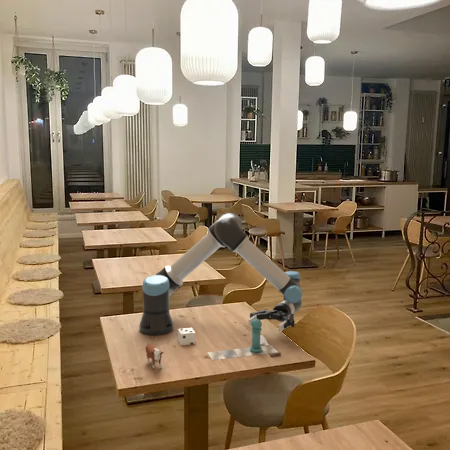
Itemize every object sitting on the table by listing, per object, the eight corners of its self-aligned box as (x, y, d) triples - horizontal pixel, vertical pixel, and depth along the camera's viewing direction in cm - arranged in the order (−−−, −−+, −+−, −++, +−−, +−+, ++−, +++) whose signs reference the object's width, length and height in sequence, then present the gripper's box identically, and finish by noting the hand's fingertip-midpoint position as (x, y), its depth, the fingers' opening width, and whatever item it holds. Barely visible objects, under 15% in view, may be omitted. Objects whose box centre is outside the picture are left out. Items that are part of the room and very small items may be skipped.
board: (211, 364, 186) (211, 361, 186) (204, 354, 195) (204, 351, 194) (280, 355, 194) (280, 352, 194) (271, 346, 203) (271, 344, 203)
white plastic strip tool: (259, 351, 199) (259, 349, 199) (251, 338, 214) (251, 335, 214) (272, 350, 200) (271, 348, 200) (263, 337, 215) (263, 334, 214)
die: (180, 348, 201) (180, 333, 200) (177, 342, 206) (177, 328, 206) (195, 346, 202) (195, 332, 202) (191, 341, 208) (191, 327, 207)
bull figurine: (153, 375, 177) (153, 353, 176) (144, 360, 189) (144, 340, 188) (165, 372, 179) (165, 351, 177) (155, 358, 191) (155, 338, 189)
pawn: (252, 353, 193) (253, 321, 191) (248, 348, 198) (249, 317, 196) (263, 352, 195) (264, 320, 193) (259, 347, 199) (259, 316, 197)
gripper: (310, 323, 215) (292, 340, 196) (257, 314, 226) (236, 329, 208) (310, 307, 213) (293, 322, 195) (258, 298, 225) (237, 312, 207)
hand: (264, 325), depth 201 cm, fingers open, 13 cm apart
